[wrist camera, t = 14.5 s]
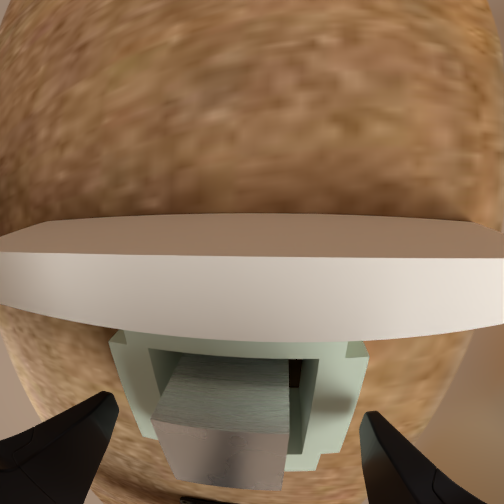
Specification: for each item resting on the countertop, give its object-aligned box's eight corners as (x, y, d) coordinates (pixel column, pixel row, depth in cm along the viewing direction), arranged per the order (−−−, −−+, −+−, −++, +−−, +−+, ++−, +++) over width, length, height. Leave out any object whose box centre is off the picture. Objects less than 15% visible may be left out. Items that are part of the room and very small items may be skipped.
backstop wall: (467, 261, 11) (545, 313, 5) (51, 256, 13) (-26, 296, 7) (473, 222, 11) (560, 258, 5) (46, 221, 13) (-37, 250, 7)
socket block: (324, 406, 14) (332, 469, 10) (175, 397, 15) (151, 454, 11) (346, 262, 12) (379, 311, 7) (151, 258, 12) (97, 299, 8)
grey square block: (283, 370, 14) (281, 490, 7) (213, 367, 14) (176, 478, 7) (286, 308, 13) (289, 434, 6) (207, 306, 13) (150, 419, 6)
